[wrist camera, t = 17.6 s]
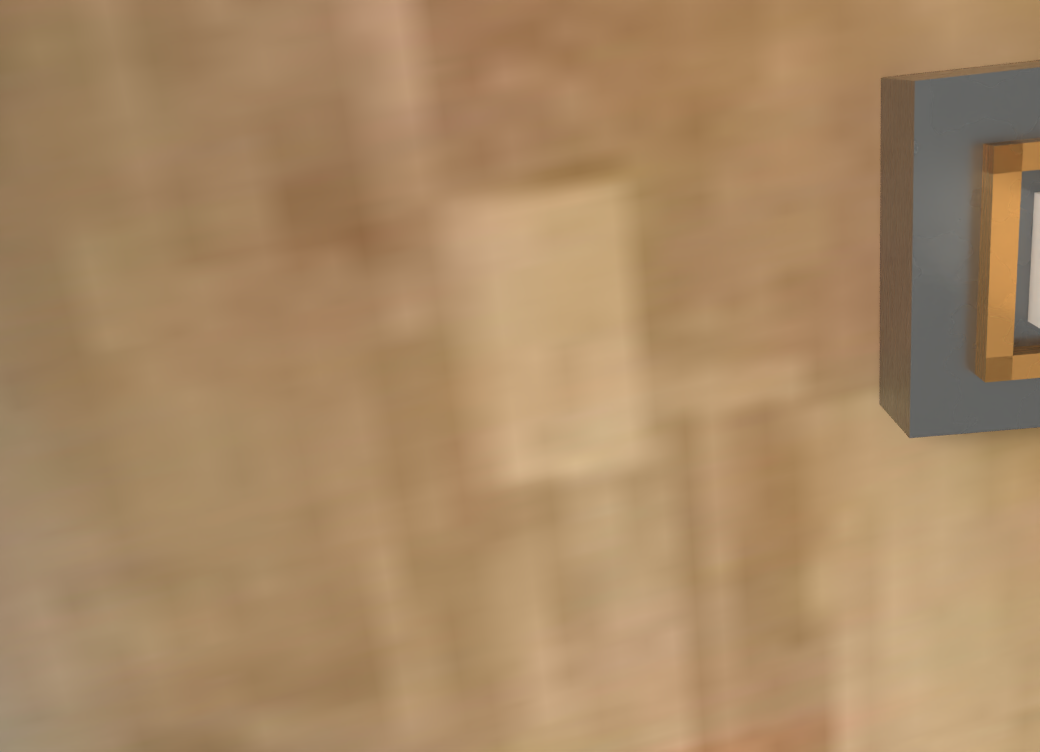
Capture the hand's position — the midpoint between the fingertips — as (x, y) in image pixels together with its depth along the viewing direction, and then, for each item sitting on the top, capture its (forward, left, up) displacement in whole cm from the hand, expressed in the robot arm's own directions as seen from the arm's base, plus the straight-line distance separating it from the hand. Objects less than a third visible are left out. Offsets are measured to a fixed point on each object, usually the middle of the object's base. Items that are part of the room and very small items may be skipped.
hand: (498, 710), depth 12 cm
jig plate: (+2, +21, -32) cm, 38 cm away
